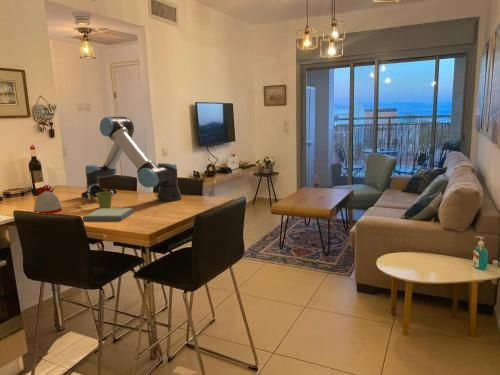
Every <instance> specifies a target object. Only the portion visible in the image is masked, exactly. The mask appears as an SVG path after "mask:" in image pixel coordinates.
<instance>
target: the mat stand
mask: <svg viewBox="0 0 500 375" xmlns="http://www.w3.org/2000/svg"><path fill="white" fill-rule="evenodd" d="M134 213H135V208H132V207H124V208H123V207H118V208H117V207H116V208H114V207H113V208H112V207H110V208H100V207H99V208H98V209H96V210H93V211H91V212H89V213H87V214H86V215H84V216H83V217H82V221H83V220H84V221H83V222H122V221H123V220H125V219H127V218H128V217H130V216H132V214H134Z"/></svg>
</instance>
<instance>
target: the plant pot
mask: <svg viewBox="0 0 500 375" xmlns="http://www.w3.org/2000/svg"><path fill="white" fill-rule="evenodd" d="M112 193H113V192H99V193H96V196H97V197H96V198H97V201H98V205H99V209H100V208H112V197H113V196H112Z"/></svg>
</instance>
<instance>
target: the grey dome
mask: <svg viewBox="0 0 500 375" xmlns="http://www.w3.org/2000/svg"><path fill="white" fill-rule="evenodd" d="M37 192H38V193H39V194H38V196H37V197H36V199H35V202H34V207H33V212H39V213H51V214H56V213H59V212H61V211H63V209H62V204H61V202H60V200H59V198H58V197H57V195H55V193H53V192H54V188H52V189H51V186H49V187H48V185H46V186H45V185H43V187H41V186H39V189H37Z"/></svg>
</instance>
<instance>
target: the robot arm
mask: <svg viewBox="0 0 500 375" xmlns="http://www.w3.org/2000/svg"><path fill="white" fill-rule="evenodd" d="M99 123H100V124H99V131H100V133H101V135H102V136H104V137H108V138H109V139H110V140H111V141H112V142H113V144H112V146H111V148H110V150H109V153H108V155H107V157H106V159H105V161H104V163H103V166H98V165H97V164H87V165H85V169H84V170H85V172H84V173H85V178H86V190H85V191H84V192H82V193H81V198H82V199H83V198H85V199H86V200H87V199H88V200H91V197H95V198H97V196H96V193H99V192H113V193H112V197H115V195H116V194H117V190H116V189H114V188H106V189H104V188H103V187H101V186H100V181H99V180H100V179H102V178H107V177H108V178H109V177H113V176H115V175H116V174H117V167H116V166H117V165H118V162H119V160H120V159H121V157H122V155H123V153H124V154H125V155H126V156H127V158H128V159H129V160H130V161H131V163H132V164H133V165H134V167H135V168H136V169H137V170H136V173H137V176H136V177H137V180H138V183H139V184H140V185H141V186H142V187H144V188H155V187H158V186H159V188H158V192H157V195H156V198H157V199H156V200H157V201H158V202H176V201H179V200H181V199H182V194H181V191H180V188H179V182H178V166H177V164H176V163H163V162H162V163H161V162H160V163H157V165H156V163H155V162H154V161H153V160H149V159H148V158H147V156H146V154H144V153H143V151H142V150H141V149H140V147H139V146H138V145H137V143H136V142H135V141H134V139H133V138H132V137H133V135H134V132H135V126H134V123H133V121H132V120H131V119H130V118H128V117H126V116H106V117H103V118H102V119H101V120H100V122H99Z"/></svg>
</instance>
